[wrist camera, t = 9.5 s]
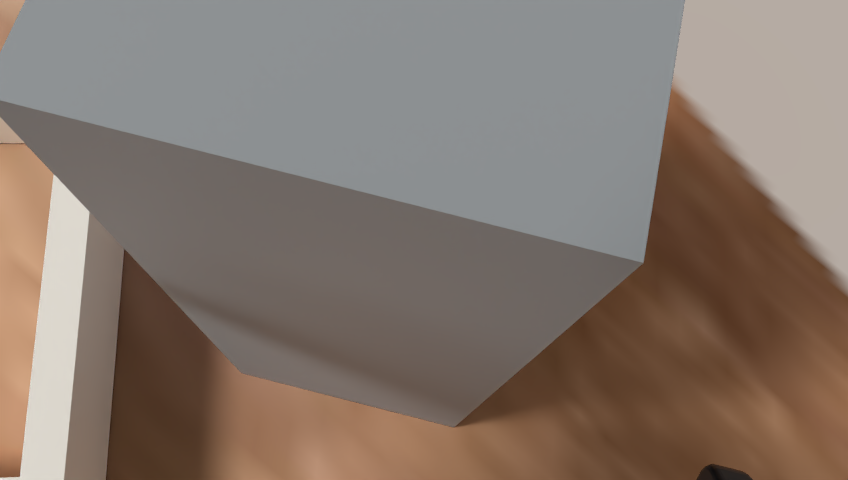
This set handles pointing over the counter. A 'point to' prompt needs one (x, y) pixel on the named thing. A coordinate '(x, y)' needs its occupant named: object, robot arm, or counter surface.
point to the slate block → (359, 172)
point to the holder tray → (72, 344)
